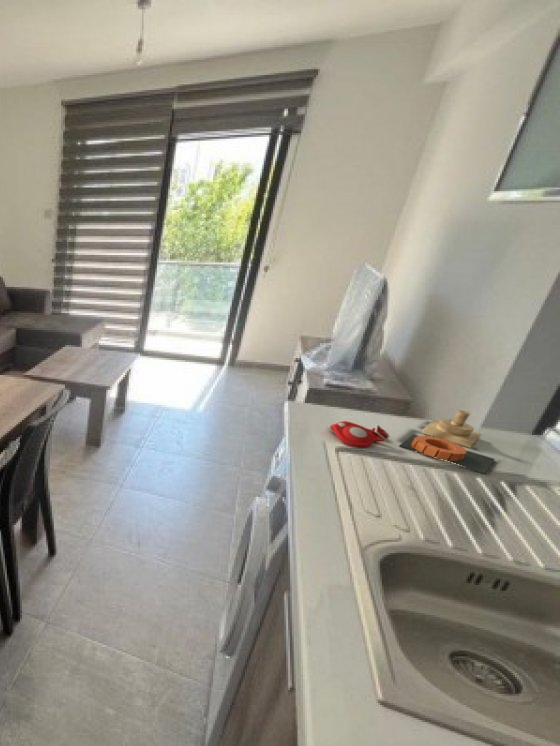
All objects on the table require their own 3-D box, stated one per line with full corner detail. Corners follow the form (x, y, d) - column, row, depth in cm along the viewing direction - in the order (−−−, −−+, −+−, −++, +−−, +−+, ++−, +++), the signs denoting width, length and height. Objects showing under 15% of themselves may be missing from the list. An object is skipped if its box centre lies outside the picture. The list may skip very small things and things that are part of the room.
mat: (494, 460, 117) (495, 458, 117) (484, 474, 110) (485, 472, 110) (412, 435, 128) (413, 433, 128) (398, 446, 121) (399, 445, 121)
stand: (478, 438, 128) (493, 414, 125) (470, 448, 123) (486, 423, 119) (431, 424, 135) (444, 401, 132) (421, 433, 129) (434, 409, 126)
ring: (468, 455, 118) (472, 448, 117) (453, 464, 113) (458, 457, 112) (420, 439, 125) (424, 432, 124) (404, 447, 120) (408, 440, 119)
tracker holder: (362, 447, 117) (326, 422, 124) (352, 459, 120) (318, 434, 127) (398, 431, 120) (361, 408, 126) (388, 444, 123) (353, 420, 129)
